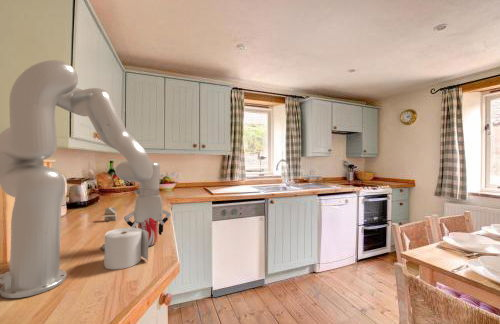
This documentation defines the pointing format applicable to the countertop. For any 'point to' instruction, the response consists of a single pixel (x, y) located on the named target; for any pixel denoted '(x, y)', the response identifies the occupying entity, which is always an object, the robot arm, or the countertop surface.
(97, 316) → the countertop surface
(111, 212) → the architectural model
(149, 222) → the soda can
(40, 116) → the robot arm
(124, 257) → the toilet tissue
